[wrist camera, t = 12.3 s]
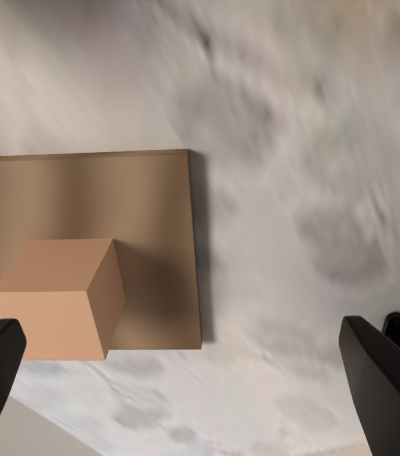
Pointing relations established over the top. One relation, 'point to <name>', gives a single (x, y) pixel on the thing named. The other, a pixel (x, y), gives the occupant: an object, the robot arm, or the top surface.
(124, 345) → the walnut board
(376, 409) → the robot arm
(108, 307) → the terracotta cube
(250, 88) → the top surface
